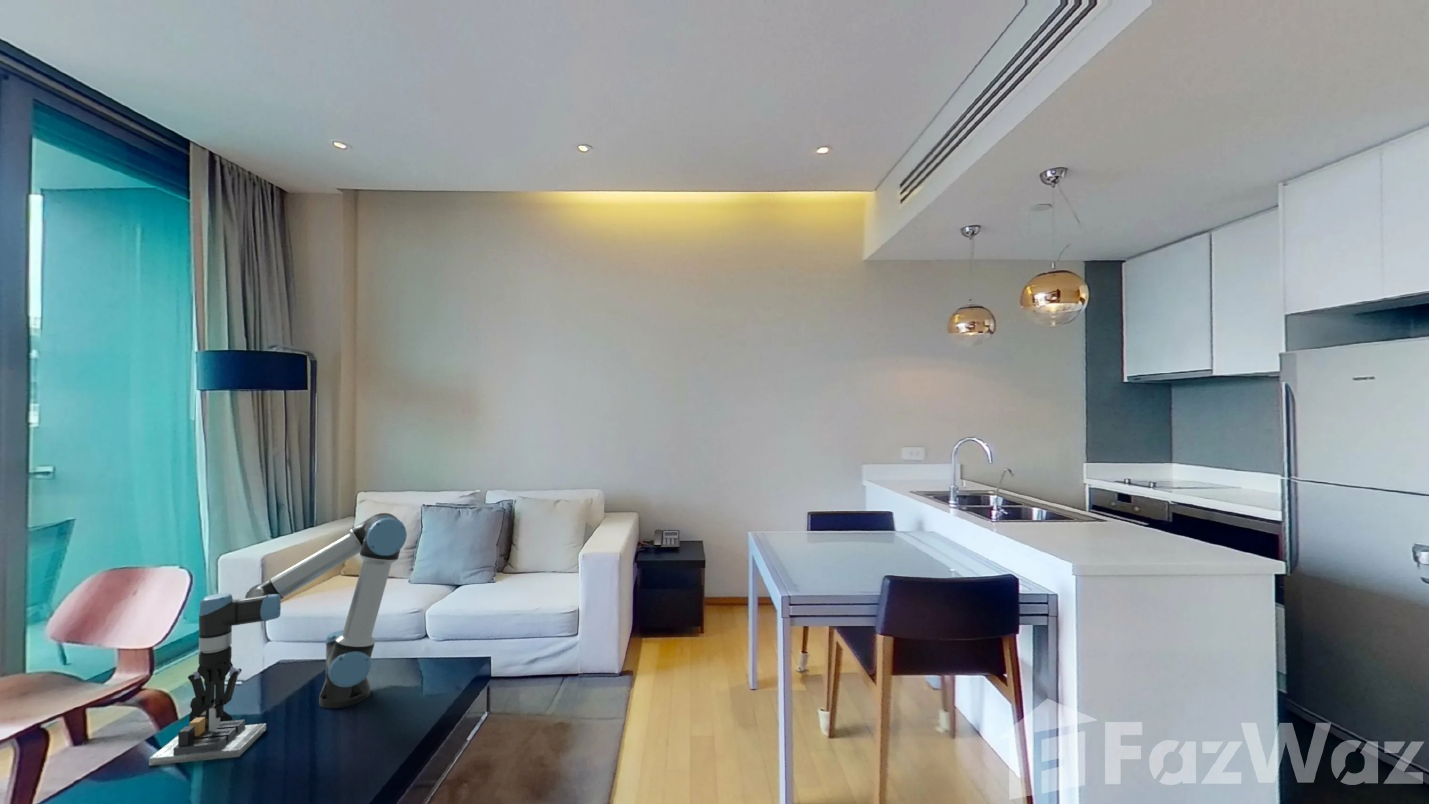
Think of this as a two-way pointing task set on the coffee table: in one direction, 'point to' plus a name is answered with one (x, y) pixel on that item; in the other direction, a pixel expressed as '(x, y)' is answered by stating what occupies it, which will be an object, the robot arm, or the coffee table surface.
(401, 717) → the coffee table surface
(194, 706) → the gun
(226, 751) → the panel
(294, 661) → the coffee table surface
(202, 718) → the handle
